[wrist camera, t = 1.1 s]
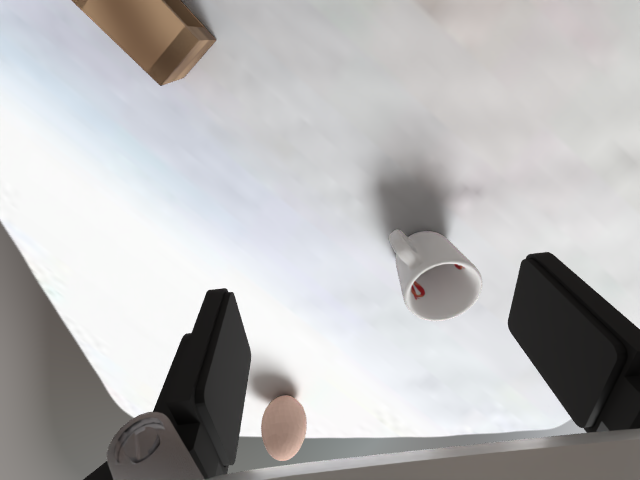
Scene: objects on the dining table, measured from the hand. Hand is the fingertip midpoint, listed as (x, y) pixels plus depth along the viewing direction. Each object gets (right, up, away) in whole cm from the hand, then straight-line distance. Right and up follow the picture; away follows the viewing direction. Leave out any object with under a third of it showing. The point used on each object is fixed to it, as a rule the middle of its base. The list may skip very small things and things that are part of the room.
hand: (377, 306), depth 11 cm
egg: (-7, -23, +44) cm, 50 cm away
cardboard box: (-15, +21, +18) cm, 31 cm away
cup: (+9, +2, +30) cm, 32 cm away
